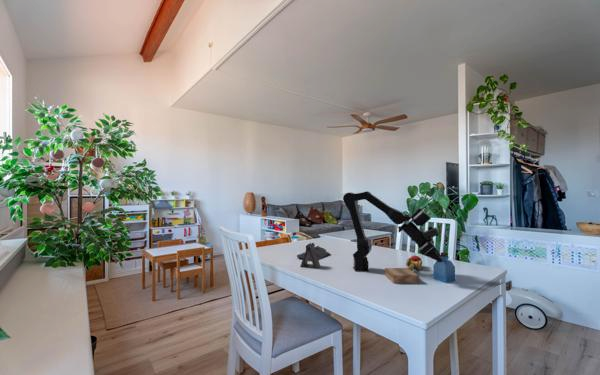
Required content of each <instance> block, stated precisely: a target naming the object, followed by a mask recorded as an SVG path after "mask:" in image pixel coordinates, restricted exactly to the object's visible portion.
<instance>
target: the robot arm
mask: <svg viewBox="0 0 600 375" xmlns="http://www.w3.org/2000/svg"><path fill="white" fill-rule="evenodd" d="M342 199H343V202H344V204H345V206H346V208H347V209H348V211H349V214H350V218H351V222H352V225H353V228H354V232H355V236H356V248H357V249H356V250H357V251H355V252H354V253H353V254H352V257H353V266H352V269H353V270H354V271H355V272H369V260H368V257H367V256H368V255H369V254H370V253H371V251H372V247H373V244H372V242H371V238H367V236H366V234H365V230H364V226H363V223H362V221H361V217H360V216H361V215H360V213H359V210H358V209H359V207H358V206H359V205H358V203H359V202H358V201H362V200H363V201H364V200H366V201H367V202H368V203H369V204H371V205H372V206H374V207H376V208H377V209H378V210H380V211H382V212H383V213H384V214H385V215H386V216H387V218H389V220H391V222H393V223H394V224H395V225H398V226H397V229H398V233H401V232H402V231H403V232H404V234H406V235H407V236H408V237H409V238H410V239H411V241H412V242H414V243H415V244H416V245H417V247H418V249H419V253H420V254H421V255H422V256H425V257H428V258H430V259H432V260H434V261H435V262H436V261H439V262H442V260H441V258H440V255H441V254H440V253H441V252H439V250H438V249H437V248H436V246H435V241H434V237H438V236H440V232H439V230H438V229H437V227H433V226H428V227H427V230H425V231H423V230H422V229H420V228H419V227H423V226H425V225H426V223H428V222H429V221H430V220H431V216H430V215H429V214H428V213H427V212H425V211H424V210H423V209H421V208H420V207H418V209H416V211H415V212H414V213H413V214H412V215H410V214H405V213H404V212H403V211H400V210H398V209H396V208H394V207H391V206H390V205H389V204H387V203H385V202H384V201H382V200H381V199H380V198H378V197H377V196H376V195H374V194H372V192H370V191H366V190H365V191H363V192H358V193H354V192H346V193H345V194H344V195H343V197H342Z"/></svg>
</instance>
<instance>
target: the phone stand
mask: <svg viewBox="0 0 600 375" xmlns="http://www.w3.org/2000/svg"><path fill="white" fill-rule="evenodd" d="M315 247H316V246H315V243H314V242H310V243H308V244H306V246H305V252H304V253H305V255H304V257H303V259H302V260H301V264H300V268H305V269H316V270H317V269H318V268H320V266H321V263H320V260H318V257H317V254H316V251H315ZM309 255H311V259H312V261H311V263H312V264H311V263H308V262H309V261H308V259H309Z"/></svg>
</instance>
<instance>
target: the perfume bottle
mask: <svg viewBox="0 0 600 375" xmlns="http://www.w3.org/2000/svg"><path fill="white" fill-rule="evenodd" d="M439 253H440V258H441V260H442V262H439V261H436V260H435V263H433V265H432V266H433V275H432V276H433V278H432V279H433V280H435V281H439V282H442V283H445V284H447V283H448V284H449V283H452V282H455V281H456V266H455V265H454V263H453V262H452V261H451V260H449V253H448V252H444V251H443V252H439Z"/></svg>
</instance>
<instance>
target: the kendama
mask: <svg viewBox="0 0 600 375" xmlns="http://www.w3.org/2000/svg"><path fill="white" fill-rule="evenodd" d="M405 266H406V267H407V268H409V269H411V270H412V271H413V272H414V269H415V268H416V269H417V270H419V271H421V270H422V266H423V261H422V258H421V257H420V256H419V255H412V256H410V257H407V258H406V264H405Z"/></svg>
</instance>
